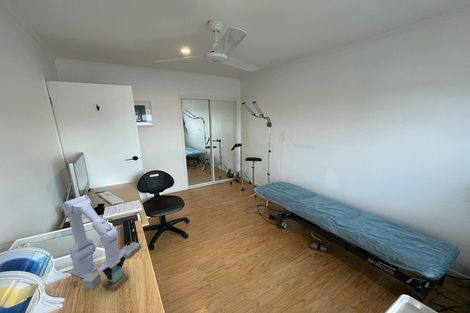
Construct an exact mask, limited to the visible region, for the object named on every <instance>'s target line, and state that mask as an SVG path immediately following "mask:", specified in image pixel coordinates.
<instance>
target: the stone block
mask: <svg viewBox="0 0 470 313" xmlns="http://www.w3.org/2000/svg"><path fill="white" fill-rule="evenodd" d="M130 243H131V242H130ZM141 248H142V245H141V243H140V242H139V243H138V242H135V241H132V243H131V244H130V245H128V246H127V244H126V245H124V246H123V247H122V248H121V249H120V250H119V253H120V252H122V251H123V250H125V251H127V254H126V255H123V257H125V259H128V260H129V259H131V258H132V257H133V256H134V255H135V254H136V253H137V252H138V251H139V250H140V249H141Z"/></svg>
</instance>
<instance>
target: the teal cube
mask: <svg viewBox="0 0 470 313" xmlns="http://www.w3.org/2000/svg"><path fill="white" fill-rule="evenodd" d="M110 268H111V269H112V279H111V280H109V279H107V278H106V279H107V280H108V281H110V282H113V283H115V282H116V281H117V280H119V279H120V278H121V277H122V276H123V273H124V272H123V271H124V270H123V266H122V267H120V266H117V265H116V264H114V265H112V266H111V267H110Z"/></svg>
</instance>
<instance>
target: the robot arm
mask: <svg viewBox="0 0 470 313" xmlns="http://www.w3.org/2000/svg"><path fill="white" fill-rule="evenodd" d="M61 206H62V210H63V214H64V216H65V217H68V221H69V224H70V229H71V233H72V236H73V239H74V240H73V241H74V243H73V245H72V247H71V248H69V250H70V251H69V252H70V254H69V255H70V256H69V257H70V259H71V261H72V267H73V271H72V272H71V274H72V275H74V276H77V277H79V278H82V279H85V278H86V277H87V276H88V275H89V274H90V273H94V272H95V271H96V270H97V273H100V275H101V274H104V275H105V276H106V279H109V280H111V279H112V269H111V268H112V267H113V266H114V265H117V266H120V267H122V268H123V265H124V263H125V261H126V258H125V257H123V255H126V254H127V251H125V250H123V251H122V252H120V253H119V251H120V250H119V241H118V238H119V237H120V235H121V233H120V230H119V229H118V228H117V227H116V226H114V225H111V224H110V223H109V222H108V221H107V219H105V218H104V217H103V218H102V217H100V216H99V215H98V213H97V212H96V210H95V209H94V207H92V200H91V198H90V197H89V196H88V195H87V194H84V195H80V196H79V197H75V198H72V199H70V200H66V201H64V202H63V204H62V205H61ZM81 214H82V215H81ZM82 216H85V218H86V219H88V221H90V222H91V223H92V225H91V227H92V229H93V230H95V232H96V233H97V234H98V235H99V236H100V238H99V239H100V241H101V243H102V246H103V247H104V254H105V261H104V262H103V263H102V265H101V266H100V267H99V266H96V265H95V264H94V257H93V256H94V254H95V252H96V250H97V247H96V246H97V245H96V244H95V243H94V240H92V239H90V238H88V237H87V234H86V231H85V225H84V222H83V219H82V218H83V217H82Z"/></svg>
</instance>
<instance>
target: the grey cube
mask: <svg viewBox="0 0 470 313" xmlns="http://www.w3.org/2000/svg"><path fill="white" fill-rule="evenodd" d="M101 282H102V280H101V274H100V273H98V272H92V273H90V274H89V275H88V276H87V277H85V278H83V280H82V286H83V290H94V289H95V288H96V287H97V286H98V285H99V284H100V283H101Z"/></svg>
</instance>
